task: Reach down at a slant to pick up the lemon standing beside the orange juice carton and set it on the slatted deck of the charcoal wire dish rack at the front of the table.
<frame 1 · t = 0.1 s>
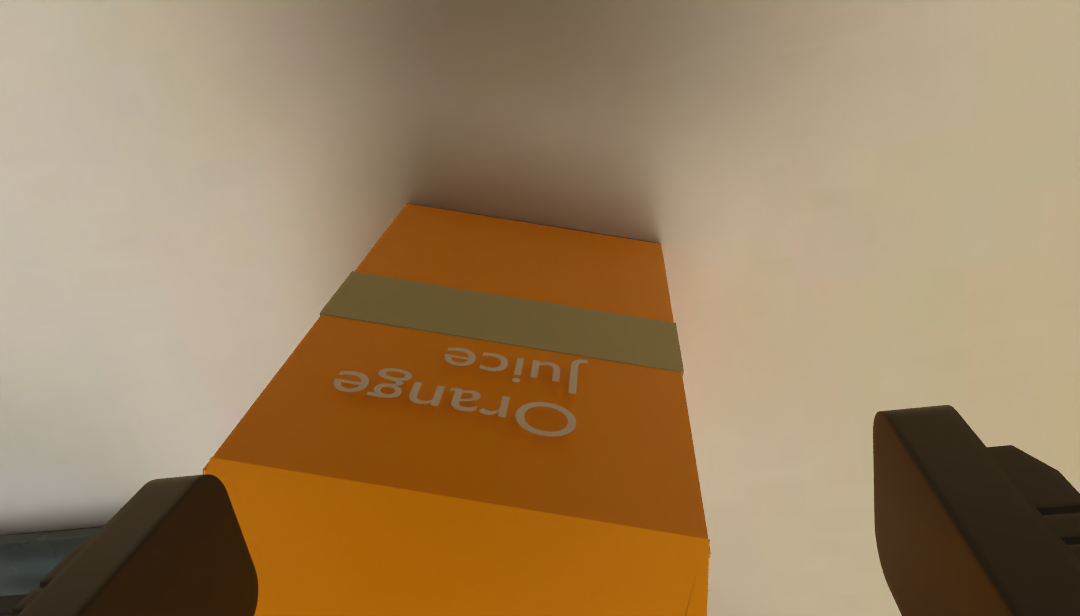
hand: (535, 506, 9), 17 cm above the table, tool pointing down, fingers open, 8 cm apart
orange juice: (520, 318, 28), on the table
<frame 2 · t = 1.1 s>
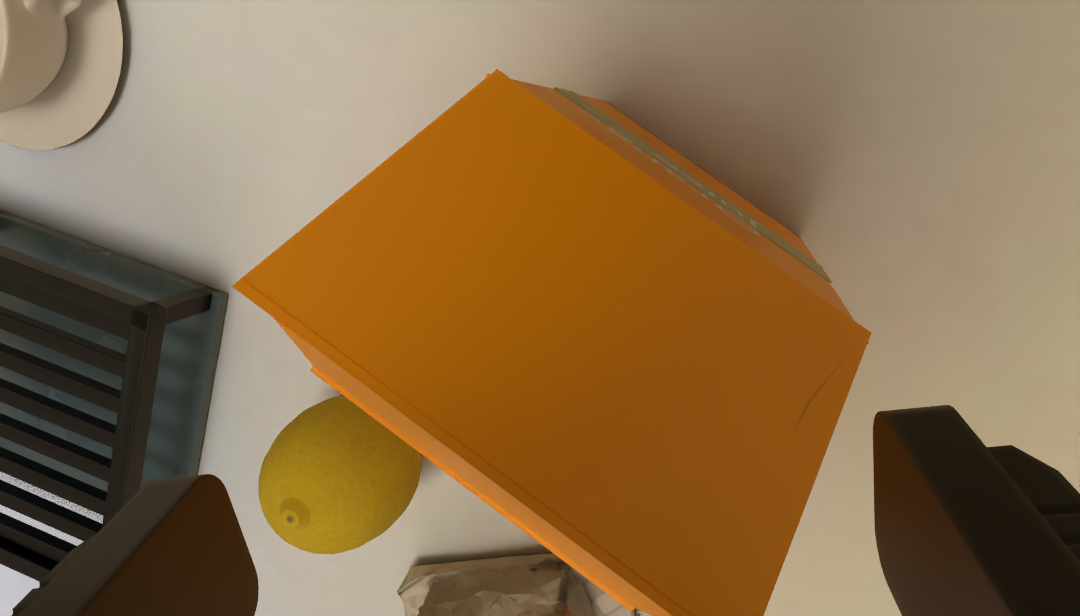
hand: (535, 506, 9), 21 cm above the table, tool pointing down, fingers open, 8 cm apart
lemon: (390, 430, 34), on the table
dish rack: (89, 377, 37), on the table
orange juice: (643, 250, 30), on the table
teacup: (36, 32, 34), on the table
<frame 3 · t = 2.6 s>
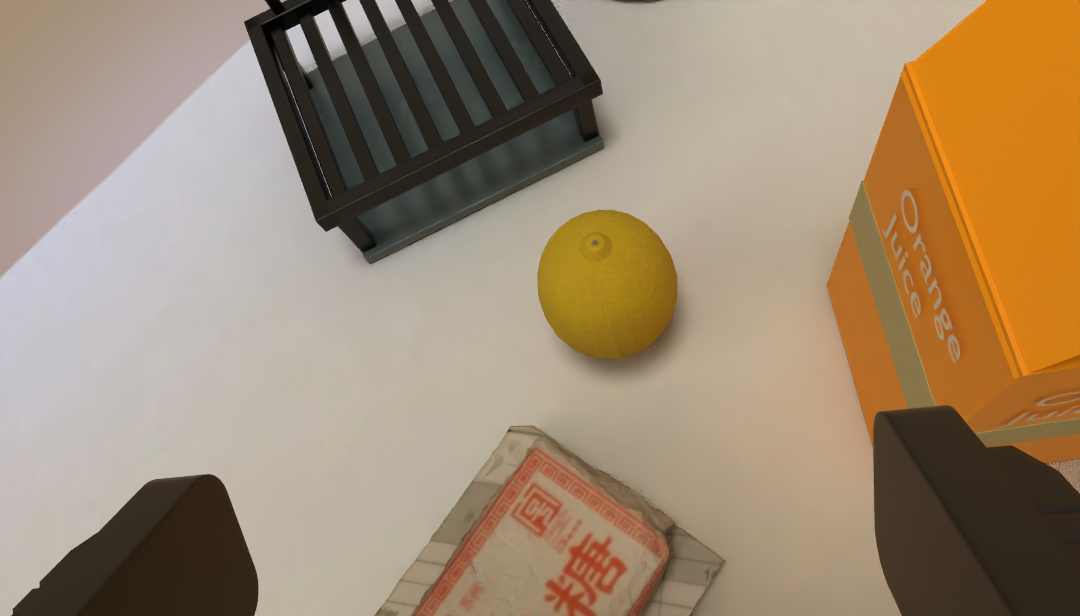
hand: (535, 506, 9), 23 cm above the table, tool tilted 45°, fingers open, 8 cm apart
lemon: (618, 323, 35), on the table
dish rack: (442, 114, 41), on the table
orange juice: (948, 365, 32), on the table
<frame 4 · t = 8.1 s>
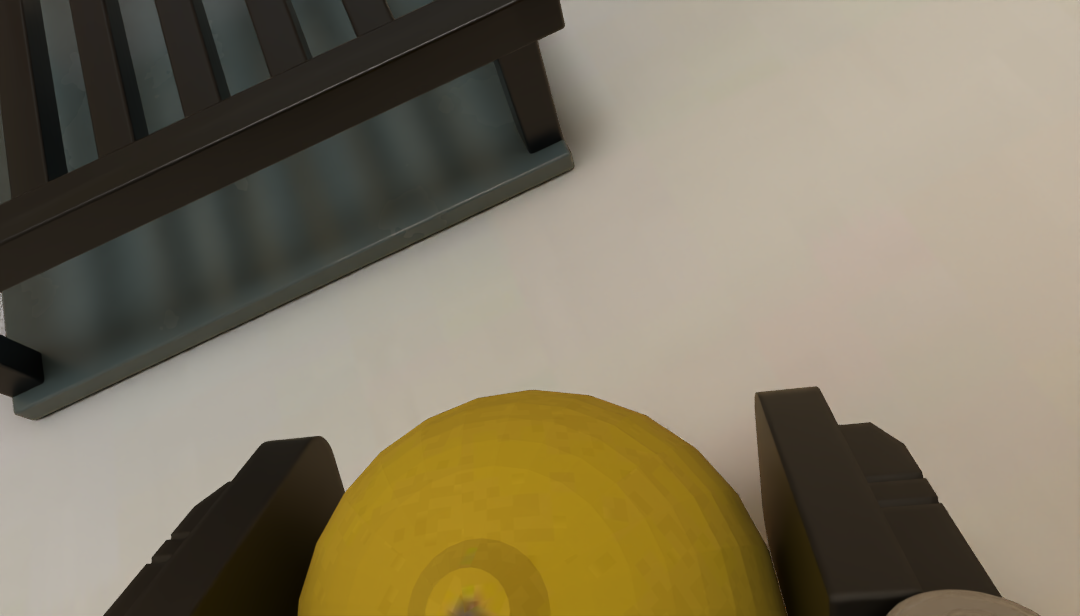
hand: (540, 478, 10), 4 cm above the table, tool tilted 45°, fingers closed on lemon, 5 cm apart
dish rack: (241, 90, 20), on the table
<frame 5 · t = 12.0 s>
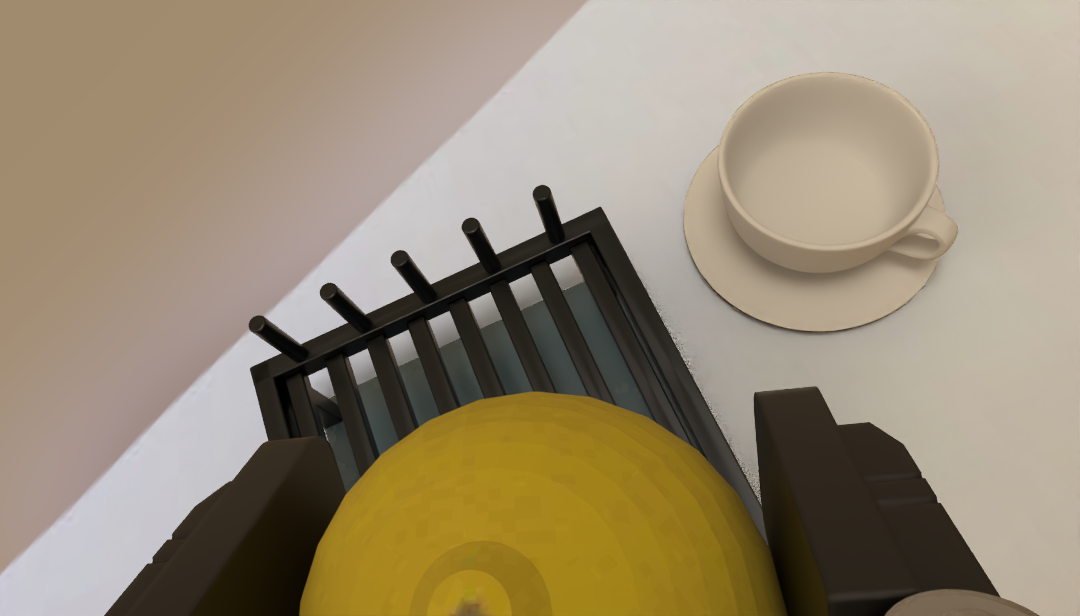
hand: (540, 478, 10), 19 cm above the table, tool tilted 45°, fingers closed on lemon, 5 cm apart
dish rack: (522, 483, 30), on the table
teacup: (808, 223, 32), on the table
when the fingers open (9 cm above the table, at t = 16.3 s): lemon stays where it is, resting on dish rack.
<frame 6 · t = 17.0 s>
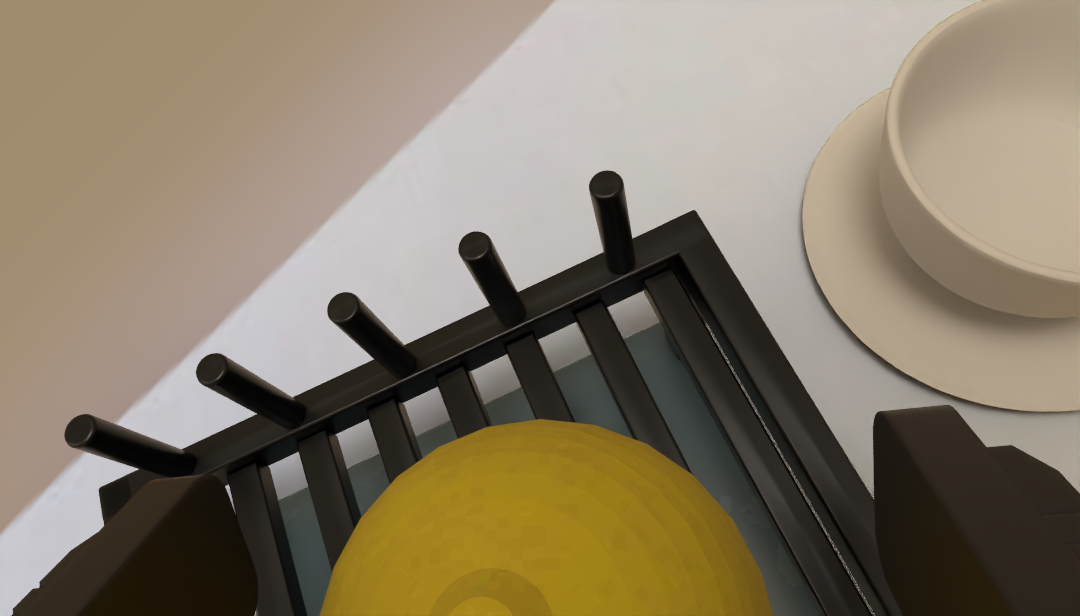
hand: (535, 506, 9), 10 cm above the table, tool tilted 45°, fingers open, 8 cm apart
teacup: (998, 234, 20), on the table
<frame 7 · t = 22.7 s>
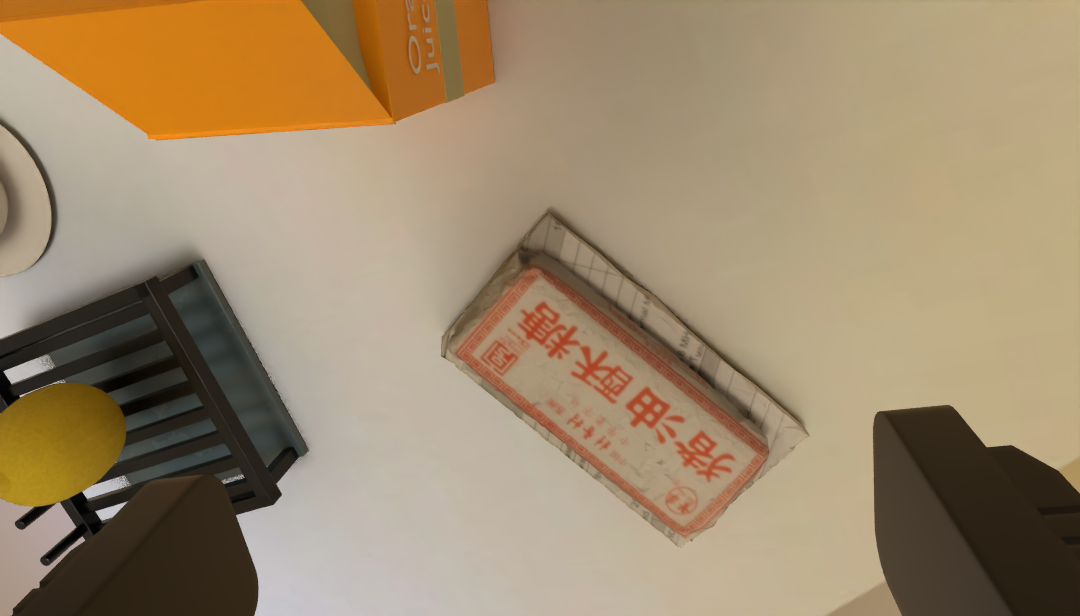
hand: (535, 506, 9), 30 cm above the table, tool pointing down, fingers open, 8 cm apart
packaged product: (620, 379, 43), on the table
lemon: (113, 402, 43), point 5 cm above the table, touching dish rack
dish rack: (174, 388, 48), on the table
orange juice: (400, 7, 37), on the table
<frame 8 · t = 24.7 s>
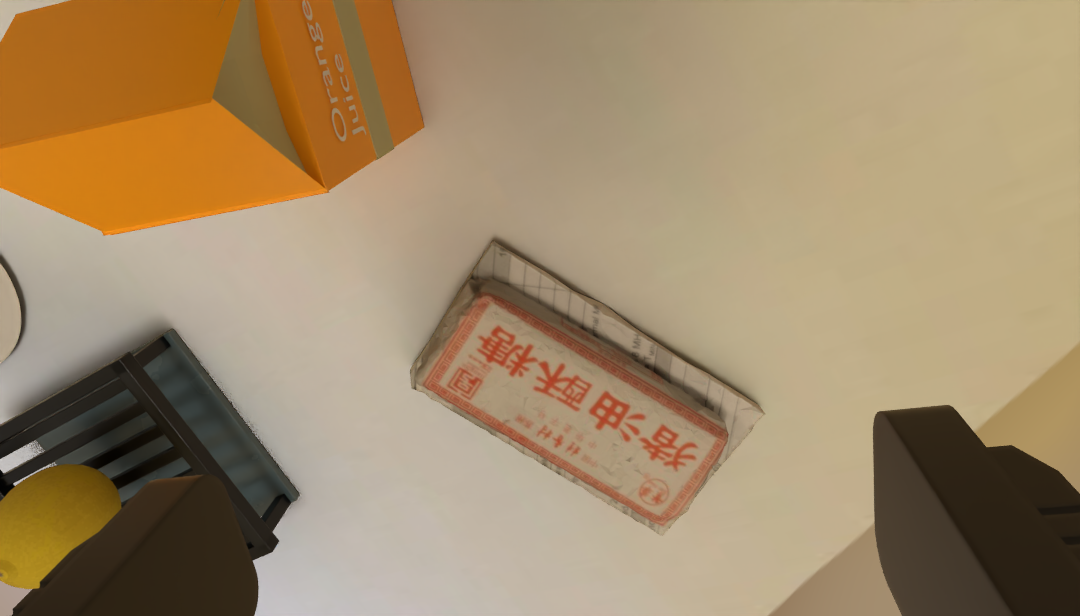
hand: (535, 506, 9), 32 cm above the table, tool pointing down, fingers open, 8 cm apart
packaged product: (583, 385, 45), on the table
lemon: (104, 477, 45), point 5 cm above the table, touching dish rack
dish rack: (162, 454, 49), on the table
orange juice: (325, 69, 40), on the table
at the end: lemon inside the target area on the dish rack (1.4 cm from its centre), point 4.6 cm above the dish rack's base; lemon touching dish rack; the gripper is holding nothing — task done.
